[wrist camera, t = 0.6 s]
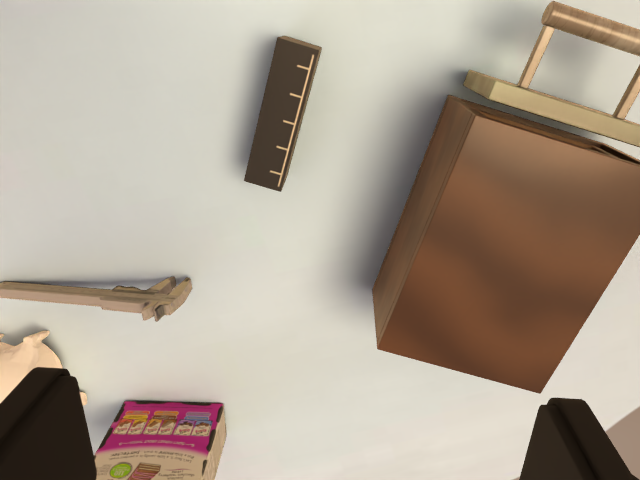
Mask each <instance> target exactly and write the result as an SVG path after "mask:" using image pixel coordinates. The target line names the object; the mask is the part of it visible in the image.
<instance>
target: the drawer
mask: <svg viewBox="0 0 640 480" xmlns="http://www.w3.org/2000/svg"><path fill="white" fill-rule="evenodd" d="M541 23H542V24H543V25H546V26H543V28H542V30H541V32H540V35H539V37H538V39H537V41H536V44H535V46H534V48H533V51H532V53H531V55H530V57H529V60H528V62H527V64H526V66H525V69H524V71H523V73H522V75H521V78H520V80H519V82H518V84H517V85H516V84H513V83H510V82H507V81H504V80H501V79H498V78H494V77H491V76H488V75H485V74H482V73H479V72H476V71H472V70H469V71H468V74H467V76H466V79H465V81H464V84H463V86H465V87H467V88H469V89H470V90H472V91H474V92H476V93H478V94H479V95H481V96H483V97H485V98H486V99H488V100H491V101H495V102H498V103H501V104H504V105H507V106H510V107H514V108H517V109H520V110H523V111H526V112H529V113H533V114H536V115H539V116H542V117H545V118H549V119H552V120H555V121H558V122H561V123H564V124H568V125H571V126H574V127H577V128H580V129H583V130H587V131H590V132H593V133H596V134H599V135H602V136H606V137H609V138H612V139H615V140H618V141H622V142H625V143H628V144H631V145H634V146H637V147H640V124H637V123H634V122H631V121H628V120H626V119H625V117H626V115H627V113H628V111H629V109H630V108H631V106H632V104H633V102H634V100H635V98H636V97H637V95H638V93H639V91H640V65H639V67H638V69H637V71H636V73H635V74H634V76H633V78H632V80H631V82H630V84H629V86H628V87H627V89H626V91H625V93H624V95H623V97H622V99H621V100H620V102H619V104H618V106H617V108H616V110H615V112H614V113H613V115H610V114H607V113H604V112H601V111H598V110H595V109H592V108H589V107H585V106H582V105H579V104H576V103H573V102H570V101H567V100H563V99H560V98H557V97H554V96H551V95H548V94H545V93H541V92H538V91H535V90H532V89H529V88H528V87H529V85H530V82H531V80H532V78H533V76H534V74H535V71H536V69H537V67H538V65H539V62H540V60H541V58H542V56H543V54H544V51H545V49H546V47H547V45H548V43H549V40H550V38H551V36H552V34H553V32H554V29H558V30H561V31H564V32H567V33H570V34H573V35H576V36H579V37H582V38H585V39H588V40H591V41H595V42H598V43H601V44H604V45H607V46H610V47H613V48H616V49H619V50H622V51H625V52H628V53H631V54H634V55H637V56H640V30H639V29H636V28H633V27H630V26H627V25H624V24H621V23H618V22H615V21H612V20H609V19H606V18H603V17H600V16H597V15H594V14H591V13H588V12H585V11H582V10H579V9H576V8H573V7H570V6H567V5H564V4H561V3H558V2H555V1H552V2H551V3H550V4H549V5H548V6H547V8H546V9H545V11H544V13H543V16H542V20H541ZM471 108H472V107H471ZM473 109H474V110H475V111H477V112H478V113H480V114H481V115H483V116H485V117H488V118H492V119H495V120H498V121H501V122H504V123H508V124H511V125H514V126H517V127H520V128H524V129H527V130H530V131H533V132H536V133H540V134H543V135H546V136H549V137H552V138H556V139H559V140H562V141H565V142H568V143H572V144H575V145H578V146H581V147H584V148H588V149H591V150H594V151H597V152H600V153H604V154H607V155H610V156H613V157H616V156H614V155H612V154H610V153H608V152H606V151H604V150H602V149H600V148H598V147H596V146H593V145H590V144H587V143H584V142H580V141H577V140H574V139H571V138H568V137H564V136H561V135H558V134H555V133H552V132H548V131H545V130H542V129H539V128H536V127H532V126H529V125H526V124H523V123H520V122H516V121H513V120H510V119H507V118H504V117H501V116H497V115H494V114H491V113H488V112H485V111H481V110H478V109H475V108H473ZM616 158H618V157H616Z"/></svg>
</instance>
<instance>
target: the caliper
mask: <svg viewBox="0 0 640 480" xmlns="http://www.w3.org/2000/svg"><path fill="white" fill-rule="evenodd" d="M173 288H174V289H173ZM172 289H173V290H172ZM191 290H192V284H191V279H190V278H186V279H185V280H184V281H182V282H181V283H180V284H179V285H178V286H177V287H176V281H175V277H170V278H167V279H165V280H164V281H162V282H160V283H158V284H156V285H155V286H153V287H151V288H149V289H147V290H140V289H138V288H135V287H124V286H116V287H115V288H114V289H112V290H110V289H96V288H83V287H70V286H57V285H45V284H33V283H20V282H8V281H4V282H2V283H0V298H10V299H21V300H32V301H43V302H55V303H66V304H78V305H89V306H101V307H102V309H104V310H114V311H124V312H134V313H142V316H143V320H147V319H149V318H151V317H153V316H155V321H156V322H157V321H158V320H159V319H160V318H161V317H162V316H164V315H171V314H172V313H173V312H174V311H176V310H177V309H178V308H179V307H180V306H181V305H182V304H183V303H184V302H185V300H186V298H187V297H188V295H189V293H190V292H191Z"/></svg>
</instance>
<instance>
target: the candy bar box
mask: <svg viewBox="0 0 640 480" xmlns="http://www.w3.org/2000/svg"><path fill="white" fill-rule="evenodd" d="M225 439H226V425H225V417H224V405H223V404H221V403H183V402H135V401H125V402H124V403H123V405H122V407H121V409H120V411H119V412H118V414H117V416H116V418H115V419H114V421H113V423H112V425H111V426H110V428H109V430H108V432H107V434H106V435H105V437H104V439H103V441H102V443H101V444H100V446H99V448H98V450H97V451H96V453H95V455H94V460H95V464H96V469H97V477H96V480H214V479H215V476H216V472H217V469H218V465H219V461H220V458H221V454H222V450H223V447H224V443H225Z"/></svg>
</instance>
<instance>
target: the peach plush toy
mask: <svg viewBox="0 0 640 480" xmlns="http://www.w3.org/2000/svg"><path fill="white" fill-rule="evenodd" d="M49 333H50V331H41V332H39V333H36V334H32V335H30V336H27V337H24V339H23V342H22V343H20V344H18V345H17V346H12V345H9V344H6V343H3V342H1V339H2V337H3V336H4V334H0V403H1V402H2V401H3V400H4V399H5V398H6V397H7V396H8V395H9V394H10V392H11V391H12V390H13V389H14V388H15V387H16V386H17V385H18V384H19V383H20V382H21V381H22V379H23V378H24V377H25V376H26V375H27V374H28V373H29V372H30V371H31V370H32V369H34V368H36V367H47V368H62V365H61V362H60V360H59V358H58V356H57V355H56V354H55V353H54V352H53V351H52V350H50V349H49V347H47V346H46V345H45V344H43V343H42V340H43V339H45V338H46V336H48V335H49ZM80 396H81V400H82V405H86V404H87V396H86V394H85V393H83V392H80Z"/></svg>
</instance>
